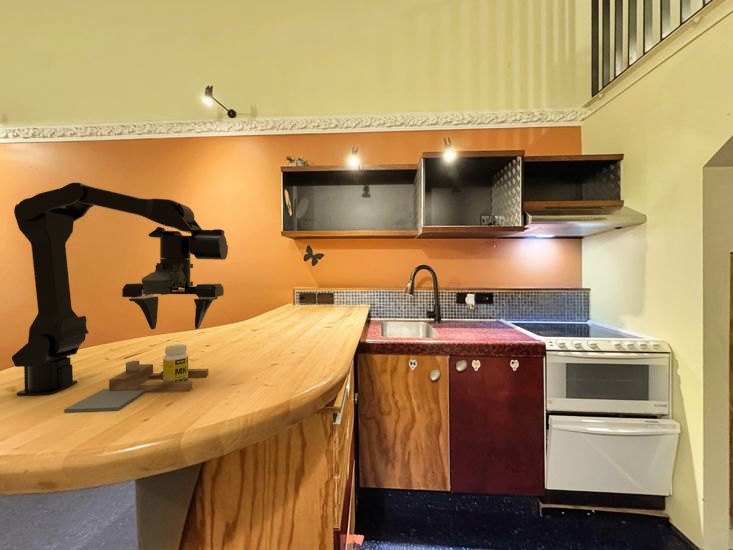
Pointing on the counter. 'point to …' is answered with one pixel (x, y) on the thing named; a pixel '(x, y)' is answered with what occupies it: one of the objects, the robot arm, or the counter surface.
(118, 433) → the counter surface
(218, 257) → the robot arm
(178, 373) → the supplement bottle
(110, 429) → the counter surface
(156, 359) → the counter surface
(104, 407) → the mat
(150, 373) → the plane body
